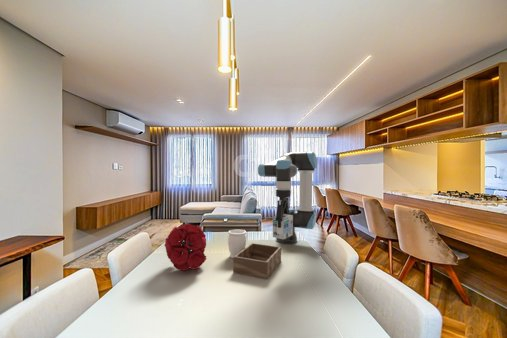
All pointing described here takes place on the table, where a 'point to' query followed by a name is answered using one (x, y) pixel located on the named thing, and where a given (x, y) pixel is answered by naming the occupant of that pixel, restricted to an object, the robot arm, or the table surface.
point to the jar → (236, 241)
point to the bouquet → (186, 247)
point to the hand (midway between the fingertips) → (282, 230)
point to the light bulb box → (284, 227)
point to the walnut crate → (257, 260)
